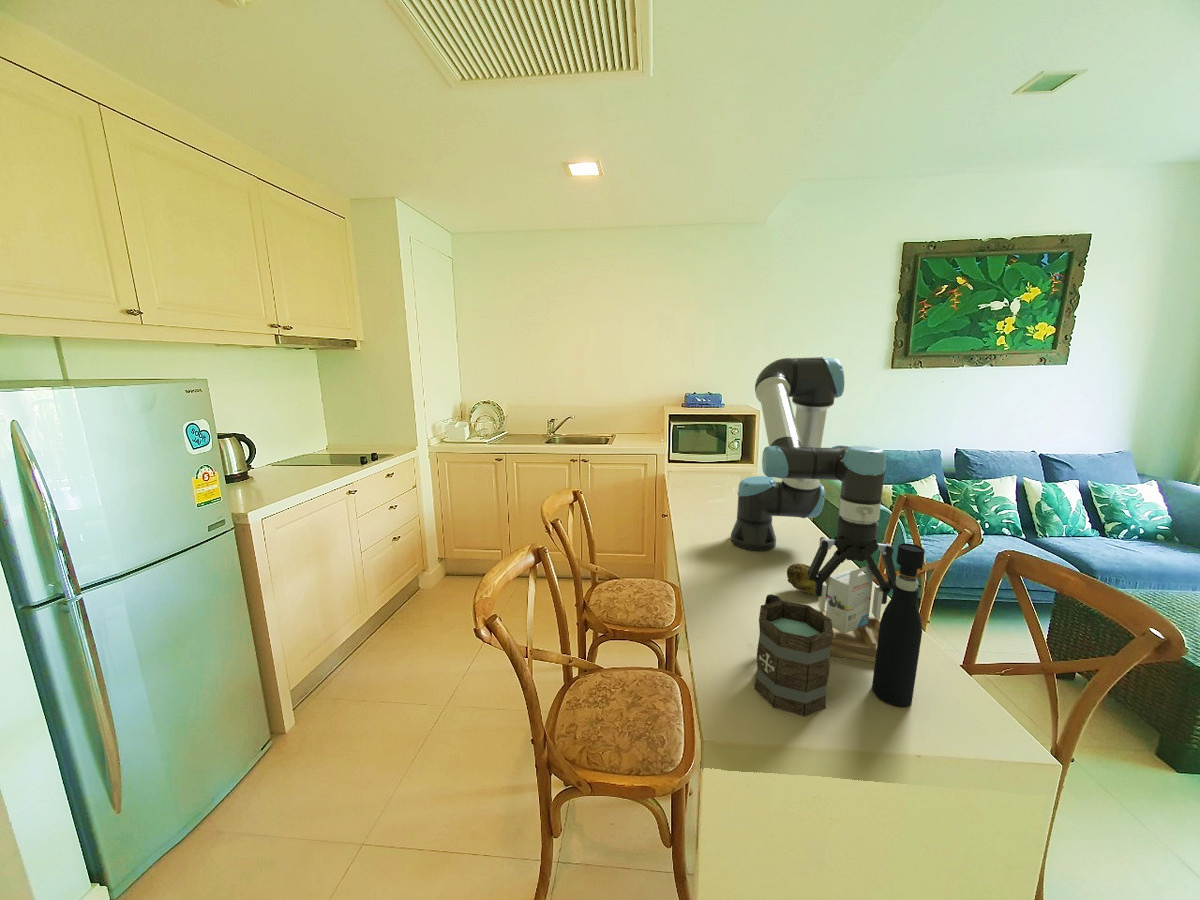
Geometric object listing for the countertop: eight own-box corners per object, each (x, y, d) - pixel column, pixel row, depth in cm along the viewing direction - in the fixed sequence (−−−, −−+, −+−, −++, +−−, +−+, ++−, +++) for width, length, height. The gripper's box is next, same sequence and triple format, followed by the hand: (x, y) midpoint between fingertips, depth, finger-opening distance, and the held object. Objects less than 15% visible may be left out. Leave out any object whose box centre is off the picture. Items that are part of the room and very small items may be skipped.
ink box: (847, 613, 103) (854, 555, 100) (868, 624, 98) (875, 563, 96) (823, 623, 99) (829, 562, 96) (844, 635, 95) (851, 572, 92)
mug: (842, 716, 78) (850, 642, 75) (766, 716, 78) (771, 641, 75) (796, 646, 97) (801, 585, 94) (735, 646, 98) (739, 585, 95)
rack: (785, 617, 108) (786, 602, 108) (876, 629, 103) (878, 614, 102) (793, 649, 96) (794, 633, 95) (896, 665, 91) (899, 648, 90)
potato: (839, 603, 115) (842, 575, 113) (787, 597, 118) (789, 569, 116) (831, 587, 123) (834, 561, 121) (782, 582, 126) (784, 556, 124)
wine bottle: (864, 683, 86) (881, 541, 80) (894, 681, 86) (914, 539, 81) (888, 708, 80) (908, 556, 74) (920, 706, 80) (943, 554, 74)
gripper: (803, 520, 93) (795, 614, 97) (927, 529, 87) (913, 629, 91) (797, 508, 100) (790, 597, 104) (912, 517, 94) (899, 610, 98)
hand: (848, 612), depth 98 cm, fingers open, 10 cm apart
